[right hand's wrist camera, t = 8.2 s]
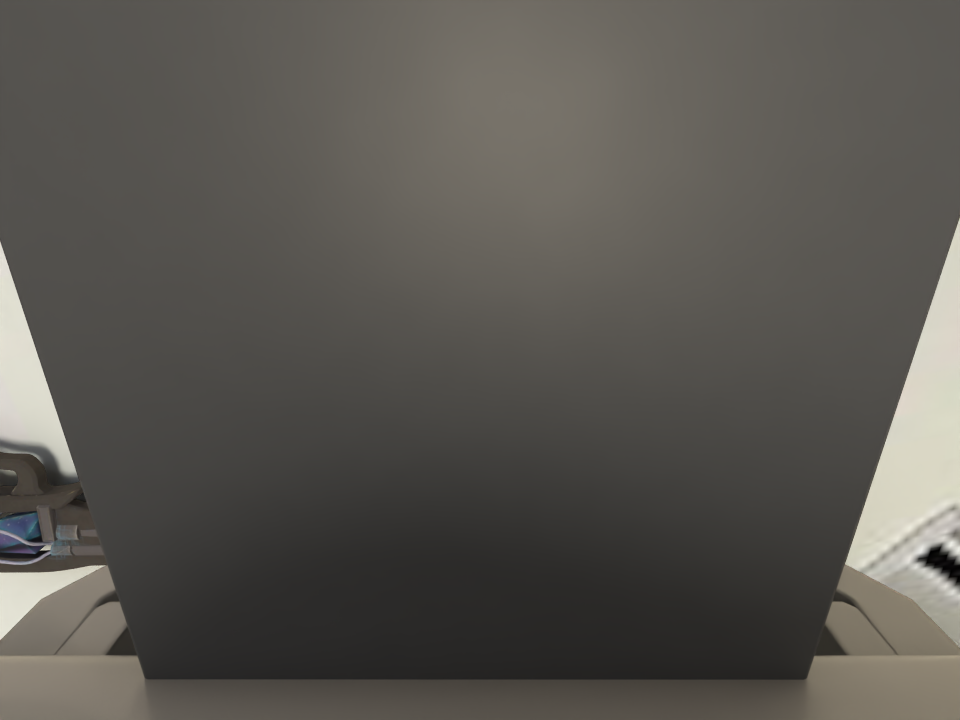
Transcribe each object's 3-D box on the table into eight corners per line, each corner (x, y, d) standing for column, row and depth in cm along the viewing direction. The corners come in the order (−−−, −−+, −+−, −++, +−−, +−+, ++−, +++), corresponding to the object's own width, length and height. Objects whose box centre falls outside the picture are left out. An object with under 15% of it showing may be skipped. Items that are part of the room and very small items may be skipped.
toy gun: (-222, 394, 22) (-162, 593, 25) (236, 405, 24) (249, 590, 27) (-153, 376, 25) (-105, 558, 28) (256, 386, 27) (266, 557, 29)
